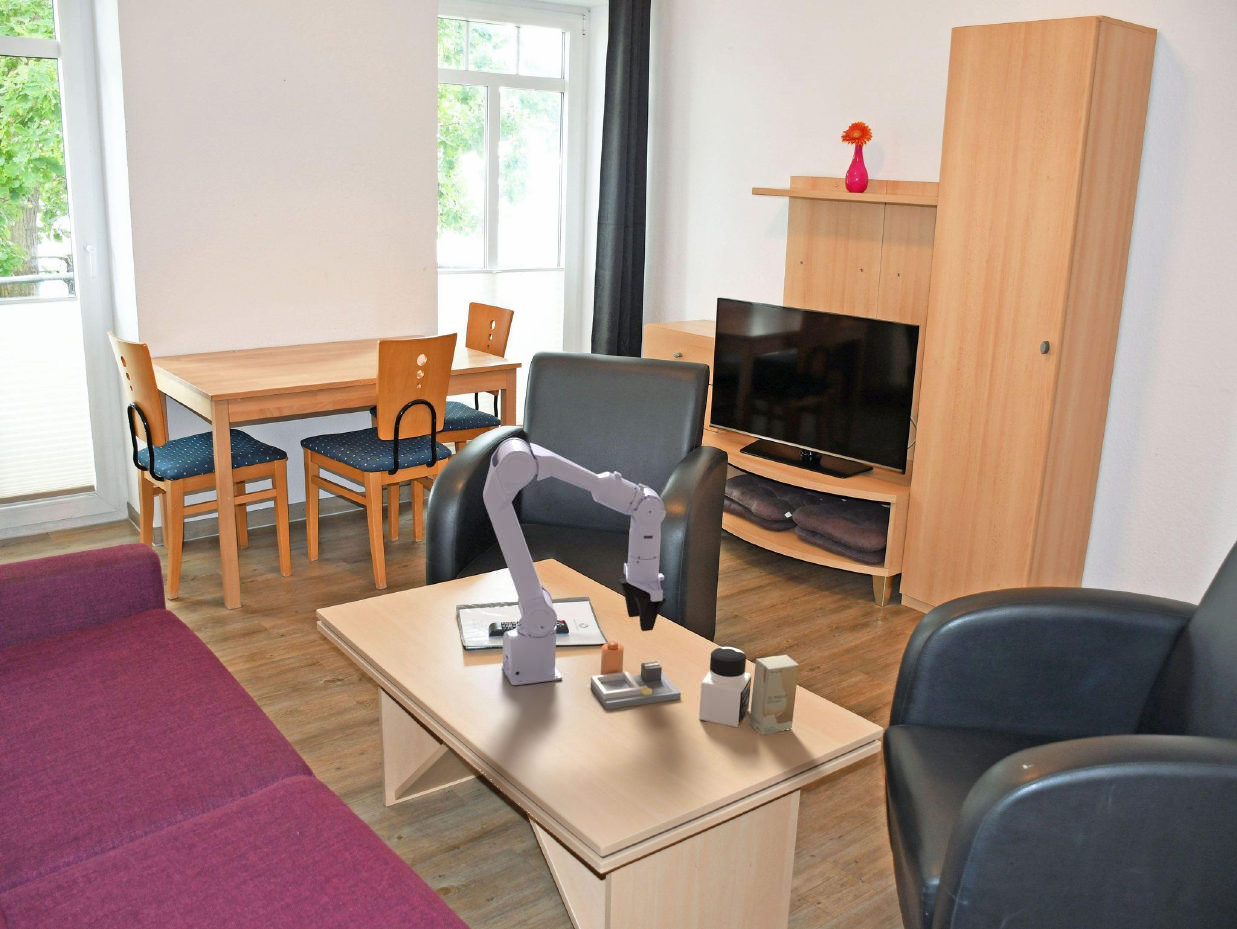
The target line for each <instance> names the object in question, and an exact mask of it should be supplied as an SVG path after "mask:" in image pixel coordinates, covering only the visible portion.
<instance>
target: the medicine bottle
mask: <svg viewBox="0 0 1237 929" xmlns="http://www.w3.org/2000/svg"><path fill="white" fill-rule="evenodd" d="M709 663H710V664H709V671H708V673H707V674H706V676H705V677H704V678H703V680H702V681H701V685H700V688H701V689H700V698H699V699H700V701H699V703H700V704H699V717H698V718H699V720H701V721H706V722H710V723H714V724H719V725H724V726H729V727H734V728H740V726H741V725H742V722H743V721H744V720H745V717H746V716H747V713H748V712H749V709H750V708H749V707H750V698H751V697H750V696H751V685H752V674H751V673H749V672H746V664H747V655H746V653H745V652H744V651H742V650H741V649H738V648H736V647H732V646H721V647H717V648H715V649H713V650H712V651H711V652H710V662H709Z"/></svg>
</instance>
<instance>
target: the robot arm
mask: <svg viewBox="0 0 1237 929" xmlns="http://www.w3.org/2000/svg"><path fill="white" fill-rule="evenodd" d="M487 472H488V473H487V476H486V480H485V484H484V488H483V490H482V491H483V492H482V497H483V502H484V503H483V504H484V505H485V508H486V511H487V513H488V517H489V519H490V522H491V524H492V527H493V530H494V533H495V536H496V539H497V541H498V544H499V547H500V550H501V553H502V554H503V558H504V560H505V563H506V566H507V568H508V571H509V573H510V576H511V579H512V581H513V586H514V587H515V591H516V593H517V594H516V595H517V597H518V598H517V606H518V610H519V612H520V619H519V621H518V623H517V624H516V627H515V628H514V629H510V630H507V631H504V633H503V638H502V665H501V668H502V670H503V672H504V674H505V676H506V677H507V679H508V681H509V682H510V684H511V685H512V686H518V685H519V686H520V685H522V686H523V685H529V684H536V683H542V682H543V683H545V682H550V681H551V682H553V681H558V680H562V679H563V677H562V675H561V673H560V671H559V670H558V668H557V667H556V656H557V655H556V650H557V624H558V615H557V613H556V610H555V609H554V605H553V602H552V596H551V593H550V592H549V590H547V588H545V587H544V586H543V585H542V582H541V580H540V577H539V575H538V573H537V570H536V566H535V564H534V561H533V558H532V556H531V553H530V551H529V548H528V544H527V543H526V539H525V537H524V533H523V531H522V527H521V525H520V522H519V520H518V517H517V514H516V511H515V509H514V506H513V503H512V502H513V500H514V499H515V497H516V495H517V494H518V493H519V491H521V490H522V489H523V488H524V487H525V486H527V485H528V483H530V482H531V481H532V480H533V478H534V477H535V479H536V481H541V480H545V479H547V478H550V477H554V478H556V479H558V480H561V481H563V482H566V483H569V484H571V485H573V486H576V487H579V488H581V489H584V490H586V491H588V492H590V494H591V496H592V498H593V501H595V502H596V503H598V504H601V505H603V506H605V507H607V508H609V509H612V510H614V511H616V512H618V513H621V514H624V515H628V516H630V528H629V533H628V534H629V536H628V555H627V563H626V562H624V563H623V574H624V575H625V578H620V579H619V580H618V584H619V585H620V587H621V590H622V593H623V595H624V600H625V604H626V612H627V615H628V617H629V618H636V617H639V628H640V630H641V632H648V631H649V632H650V631H653V629H654V627H655V624H656V621H657V617H658V614H659V613H660V610H661V609H662V607H663V605H664V604H665V603H666V601H667V596H666V595H665V594H664V590H663V589H662V587H661V581H664V580H665V575H663V573H661V572H660V571H659V570H660V557H661V556H660V554H661V537H662V536H661V535H662V531H661V525H662V522H663V521H664V520H665V517H666V516H667V515H666V514H667V511H666V510H665V509H666V508H665V504H664V501H662V499H661V497H660V496H659V495H658V493H657V492H656V491H655V490H653V489H652V488H650V486H648V485H644V484H643V483H638V484H636V483H634V482H632V481H629V480H627V479H625V478H623V475H622V474H621V472H618V471H613V473H612V472H609V471H604V472H602V473H599V474H597V473H595V472H593V471H591V470H589V469H587V468H585V467H583V466H581V465H579V464H577V463H576V462H574V461H571V460H569V459H567V458H565V457H563V456H561V455H559V454H557V453H555V452H553V451H551V450H549V449H547V448H545V447H542V446H540V445H538V444H535V443H533V442H530V443H529V444H528V442H526V441H525V440H524V439H522V438H518V437H510V438H507V439H505V440H503V441H502V442H501V443H500V444H499V445H498V446H497V448H496V450H495V451H494V452H493V453H492V455H491V458H490V464H489V468H488V471H487ZM659 572H660V573H659Z"/></svg>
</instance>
